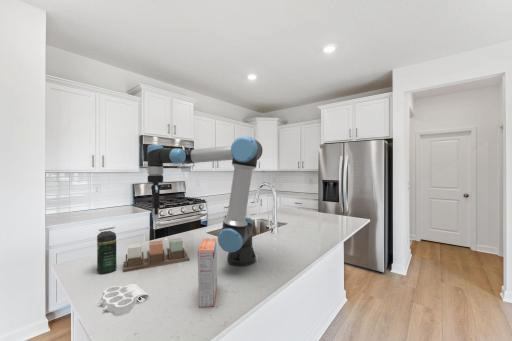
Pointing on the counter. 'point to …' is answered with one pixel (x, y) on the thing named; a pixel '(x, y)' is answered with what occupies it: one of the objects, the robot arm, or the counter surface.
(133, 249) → the cream key
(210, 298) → the cracker box
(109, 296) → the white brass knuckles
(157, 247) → the terracotta key
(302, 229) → the counter surface
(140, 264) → the board
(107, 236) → the coffee jar
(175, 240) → the sage key
